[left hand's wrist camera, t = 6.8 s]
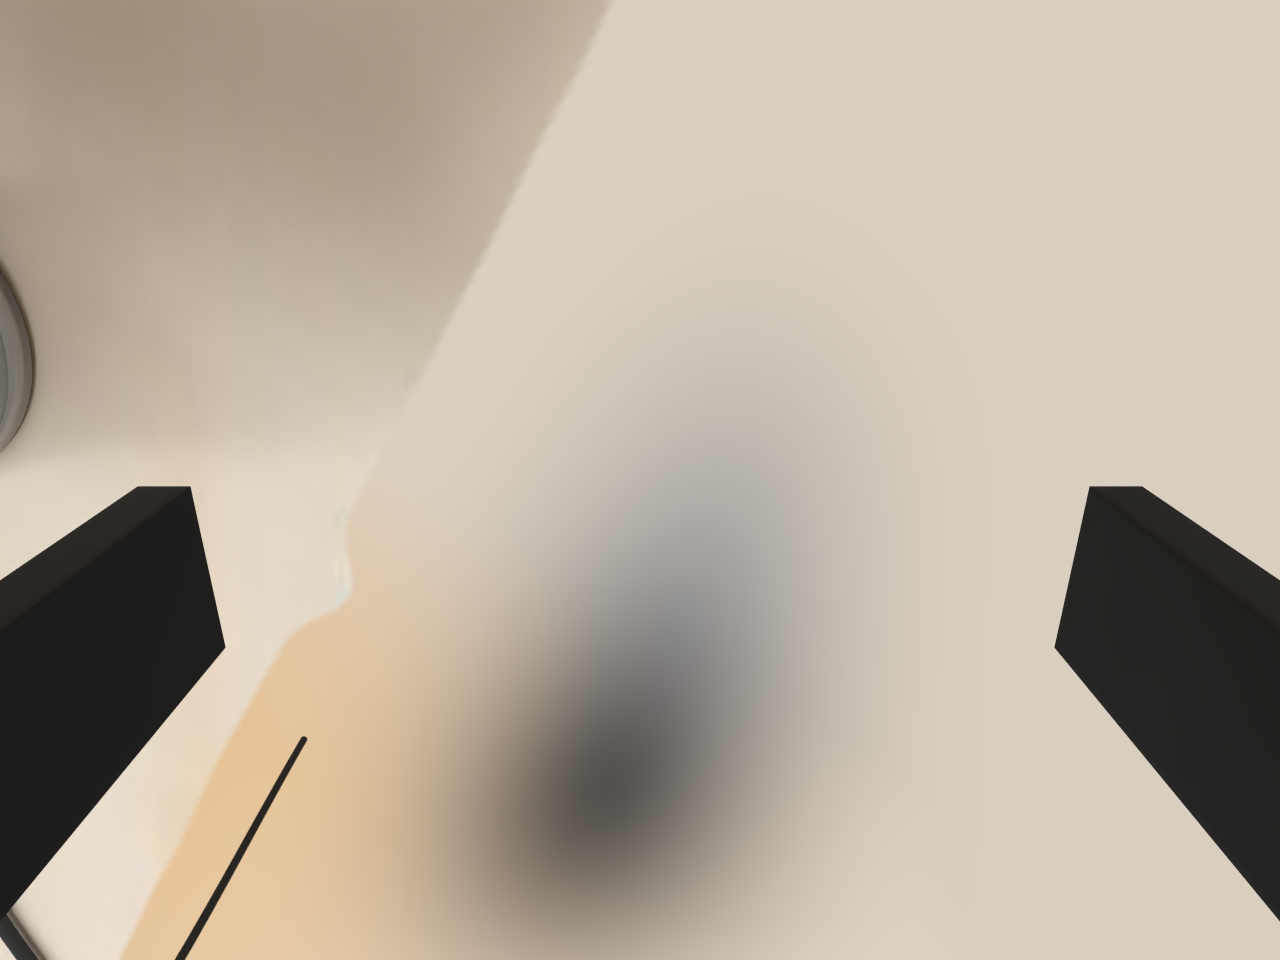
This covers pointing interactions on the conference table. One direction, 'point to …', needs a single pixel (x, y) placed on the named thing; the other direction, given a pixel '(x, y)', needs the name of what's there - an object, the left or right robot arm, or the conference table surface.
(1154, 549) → the left robot arm
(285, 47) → the conference table surface
